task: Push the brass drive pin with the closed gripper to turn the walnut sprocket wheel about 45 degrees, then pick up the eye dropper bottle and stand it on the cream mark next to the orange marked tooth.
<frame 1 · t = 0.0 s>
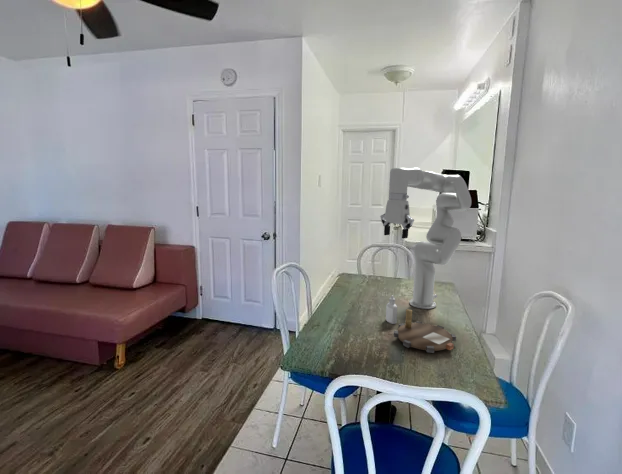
hand: (395, 236, 153), 37 cm above the table, tool pointing down, fingers open, 9 cm apart
eye dropper bottle: (391, 322, 154), on the table
sprocket stand: (423, 341, 135), on the table
sprocket: (424, 327, 134), point 6 cm above the table, hinge at 0.0°
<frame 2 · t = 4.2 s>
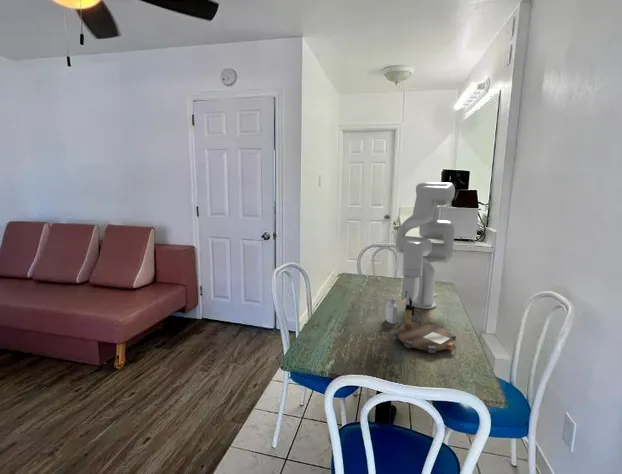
hand: (409, 314, 143), 7 cm above the table, tool pointing down, fingers closed
sprocket: (424, 327, 134), point 6 cm above the table, hinge at 2.9°, touching gripper
everything else where it was.
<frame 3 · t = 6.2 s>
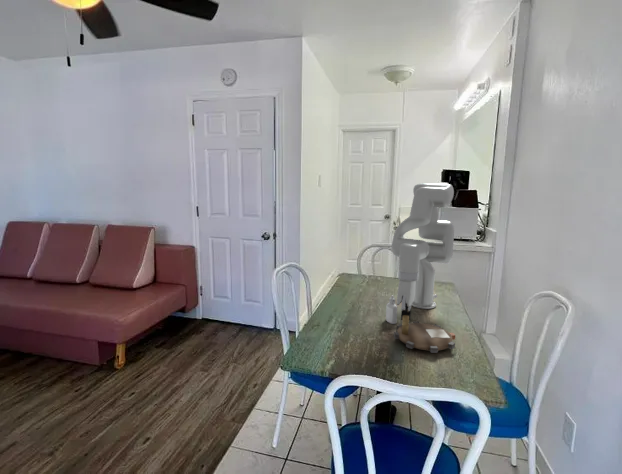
hand: (405, 320, 137), 7 cm above the table, tool pointing down, fingers closed
sprocket: (424, 327, 134), point 6 cm above the table, hinge at 51.6°
everything else where it was.
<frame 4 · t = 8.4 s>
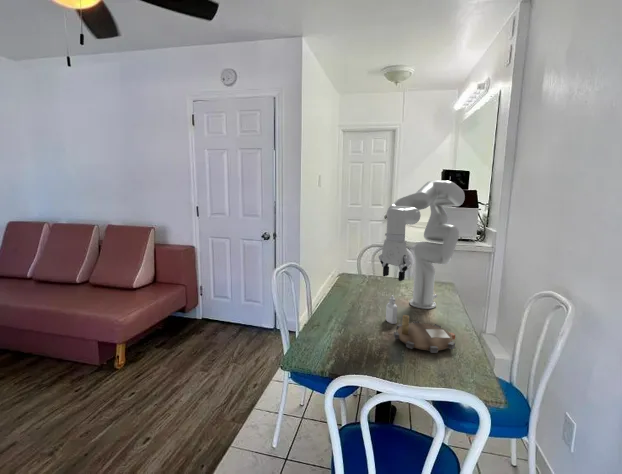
hand: (393, 277, 150), 20 cm above the table, tool pointing down, fingers open, 7 cm apart
nothing on the table moved.
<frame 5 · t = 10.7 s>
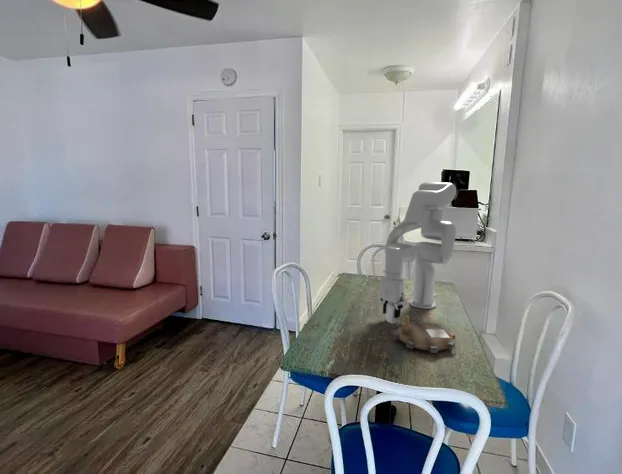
hand: (391, 314, 153), 3 cm above the table, tool pointing down, fingers closed on eye dropper bottle, 5 cm apart
eye dropper bottle: (390, 321, 154), on the table, touching gripper
everything else where it was.
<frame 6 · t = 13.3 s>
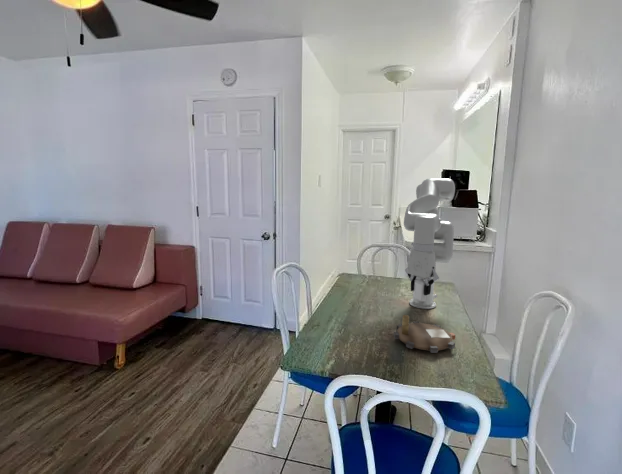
hand: (420, 292, 139), 18 cm above the table, tool pointing down, fingers closed on eye dropper bottle, 5 cm apart
eye dropper bottle: (419, 299, 139), point 14 cm above the table, touching gripper
everything else where it was.
when the fingers open (8 cm above the table, at t = 16.1 s): eye dropper bottle drops 1 cm, resting on sprocket.
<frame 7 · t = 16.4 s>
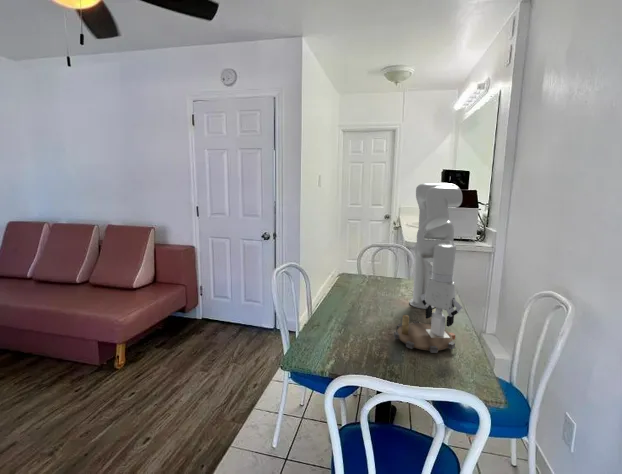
hand: (438, 321, 133), 9 cm above the table, tool pointing down, fingers open, 8 cm apart
eye dropper bottle: (437, 334, 134), point 3 cm above the table, touching sprocket
sprocket: (424, 327, 134), point 6 cm above the table, hinge at 51.6°, touching eye dropper bottle
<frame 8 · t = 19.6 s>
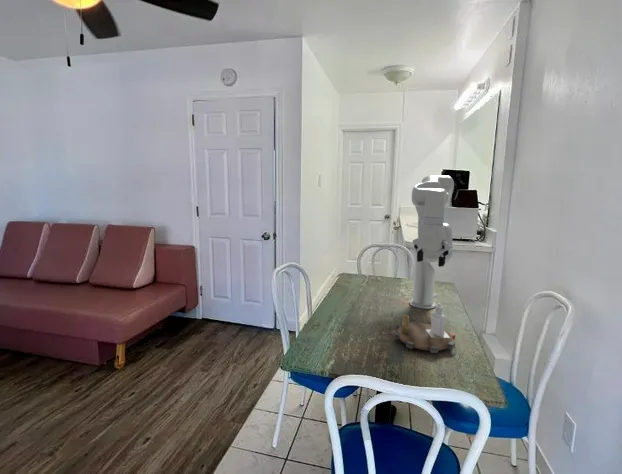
hand: (430, 263, 141), 28 cm above the table, tool pointing down, fingers open, 9 cm apart
nothing on the table moved.
at the end: sprocket at +52° (first picture: +0°); eye dropper bottle 0.4 cm from the target spot on the sprocket, point 3.4 cm above the sprocket's base; eye dropper bottle tilted 0° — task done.
